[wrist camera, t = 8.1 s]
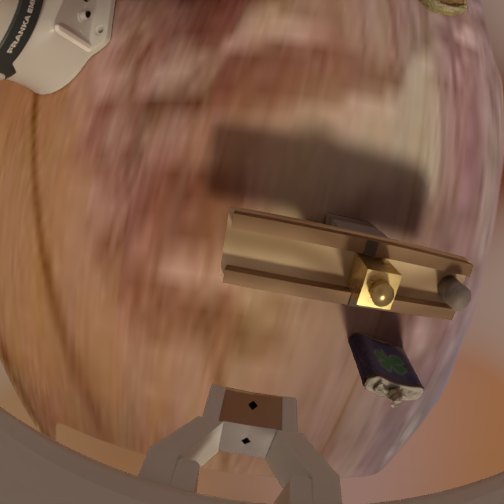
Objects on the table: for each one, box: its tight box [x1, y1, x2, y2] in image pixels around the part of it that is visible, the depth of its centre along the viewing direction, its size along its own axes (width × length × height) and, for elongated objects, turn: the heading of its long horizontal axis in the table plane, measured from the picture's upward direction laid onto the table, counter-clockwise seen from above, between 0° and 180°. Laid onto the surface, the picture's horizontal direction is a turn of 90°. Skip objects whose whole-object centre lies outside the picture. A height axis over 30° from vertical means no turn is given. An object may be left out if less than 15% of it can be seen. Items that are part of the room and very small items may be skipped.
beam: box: [220, 206, 473, 320], centre depth 28 cm, size 6×24×11 cm, turn 80°
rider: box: [347, 252, 402, 310], centre depth 23 cm, size 3×3×5 cm
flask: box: [348, 332, 424, 407], centre depth 32 cm, size 9×3×11 cm, turn 68°
